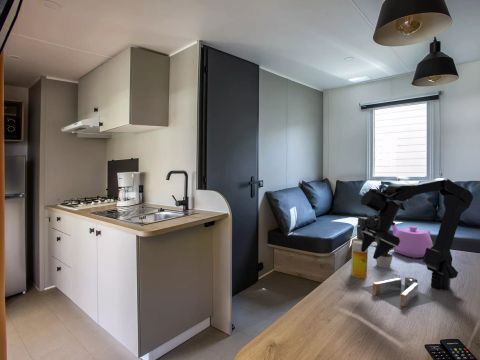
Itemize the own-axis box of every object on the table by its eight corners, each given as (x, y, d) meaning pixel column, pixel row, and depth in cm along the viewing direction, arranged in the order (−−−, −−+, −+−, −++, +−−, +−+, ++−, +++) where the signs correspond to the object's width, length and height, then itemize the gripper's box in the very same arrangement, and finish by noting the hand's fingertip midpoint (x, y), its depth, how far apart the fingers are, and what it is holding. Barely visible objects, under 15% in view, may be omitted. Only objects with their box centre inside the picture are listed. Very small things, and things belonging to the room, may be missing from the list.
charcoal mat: (393, 283, 112) (394, 280, 112) (437, 302, 97) (437, 300, 97) (360, 290, 105) (360, 287, 105) (401, 312, 90) (401, 309, 90)
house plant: (405, 277, 119) (407, 239, 118) (369, 272, 123) (371, 235, 122) (399, 265, 132) (400, 231, 131) (367, 261, 137) (368, 228, 136)
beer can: (368, 281, 114) (369, 245, 113) (352, 279, 115) (353, 243, 114) (364, 275, 120) (366, 240, 119) (349, 274, 121) (350, 240, 120)
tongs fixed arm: (398, 288, 105) (398, 277, 105) (401, 289, 104) (401, 278, 104) (372, 294, 100) (372, 282, 100) (375, 295, 99) (376, 284, 99)
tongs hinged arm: (406, 286, 107) (407, 276, 106) (421, 291, 103) (421, 280, 103) (388, 302, 94) (389, 290, 94) (404, 307, 91) (405, 295, 91)
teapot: (443, 256, 146) (445, 228, 145) (414, 261, 139) (416, 231, 138) (404, 244, 167) (405, 220, 166) (377, 248, 160) (378, 222, 159)
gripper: (355, 204, 112) (338, 240, 112) (379, 210, 93) (359, 252, 93) (380, 216, 112) (363, 251, 112) (409, 224, 93) (389, 266, 93)
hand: (368, 254), depth 103 cm, fingers open, 9 cm apart
